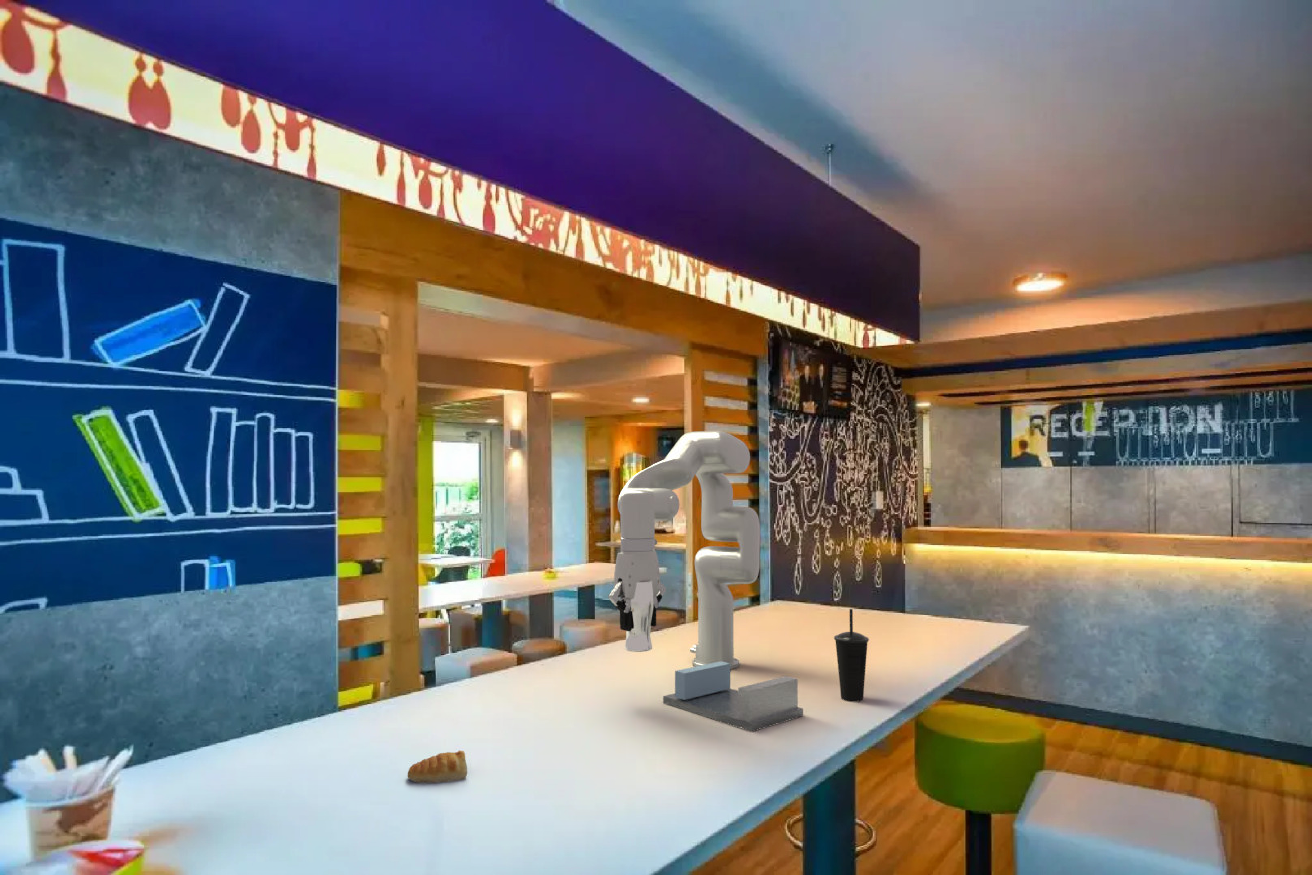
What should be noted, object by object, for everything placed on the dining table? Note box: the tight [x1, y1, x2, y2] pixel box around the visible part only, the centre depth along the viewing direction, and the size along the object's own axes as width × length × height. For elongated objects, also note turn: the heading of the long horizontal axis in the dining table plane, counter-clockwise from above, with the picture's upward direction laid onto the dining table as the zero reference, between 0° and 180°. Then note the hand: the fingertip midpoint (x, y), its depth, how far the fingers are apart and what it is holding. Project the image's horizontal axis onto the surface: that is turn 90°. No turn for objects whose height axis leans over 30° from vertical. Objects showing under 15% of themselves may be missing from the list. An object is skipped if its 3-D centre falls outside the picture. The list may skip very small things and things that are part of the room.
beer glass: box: [623, 580, 654, 653], centre depth 167 cm, size 7×7×15 cm
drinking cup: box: [833, 608, 870, 702], centre depth 173 cm, size 8×8×20 cm
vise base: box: [662, 675, 804, 732], centre depth 164 cm, size 26×16×8 cm, turn 41°
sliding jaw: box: [674, 661, 731, 700], centre depth 170 cm, size 3×14×6 cm, turn 131°
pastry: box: [407, 750, 468, 784], centre depth 125 cm, size 9×7×4 cm
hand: (638, 627), depth 167 cm, fingers closed on beer glass, 6 cm apart
